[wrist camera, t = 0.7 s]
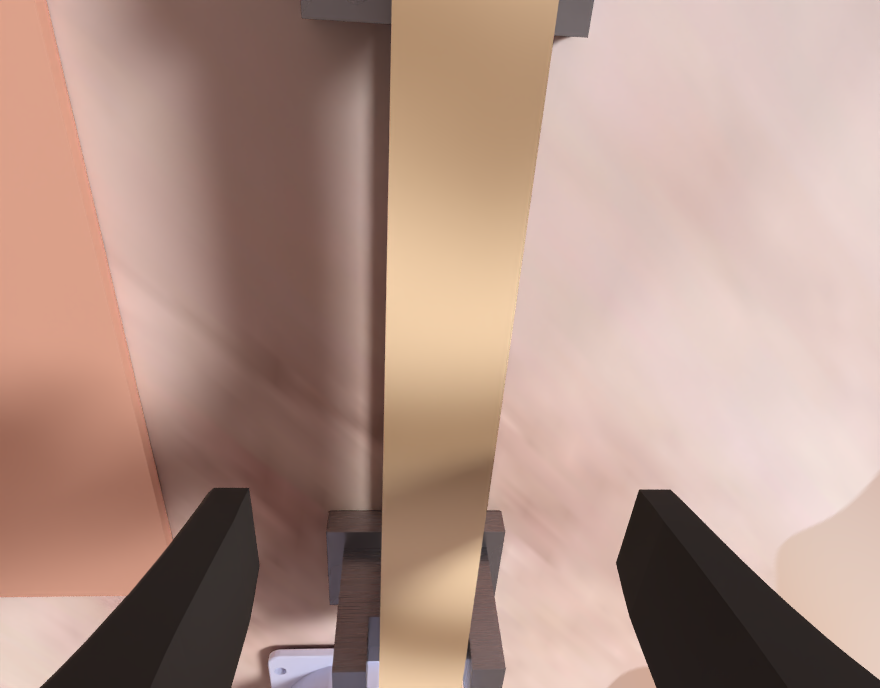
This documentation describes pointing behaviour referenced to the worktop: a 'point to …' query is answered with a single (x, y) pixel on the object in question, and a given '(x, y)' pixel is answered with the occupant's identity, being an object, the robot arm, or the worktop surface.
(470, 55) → the rail
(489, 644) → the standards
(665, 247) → the worktop surface
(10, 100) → the mat
